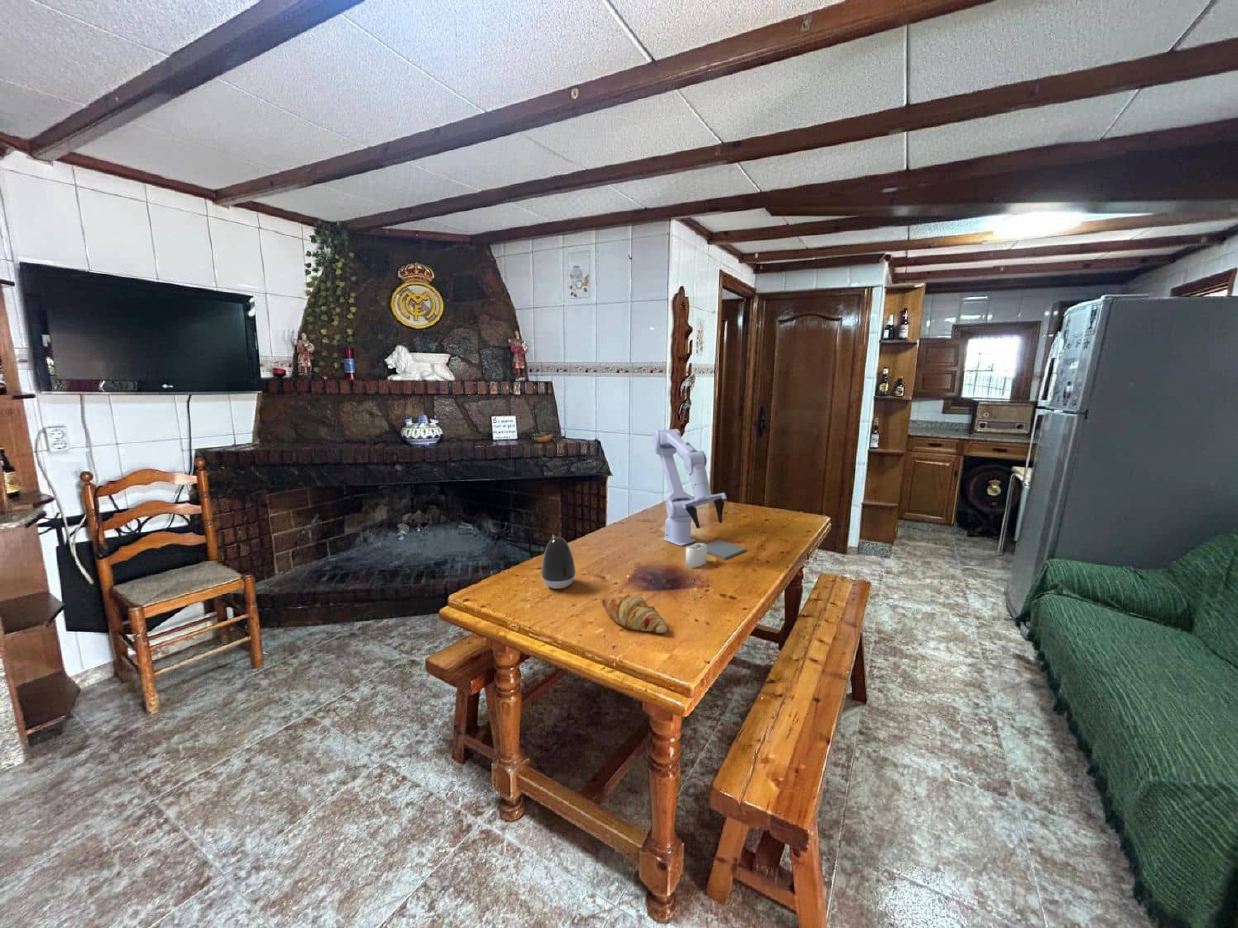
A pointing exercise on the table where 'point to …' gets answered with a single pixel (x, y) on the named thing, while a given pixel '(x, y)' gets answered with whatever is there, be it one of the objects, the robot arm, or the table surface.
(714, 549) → the slate mat
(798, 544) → the table surface
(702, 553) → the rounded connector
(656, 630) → the croissant
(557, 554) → the dark grey egg shape
